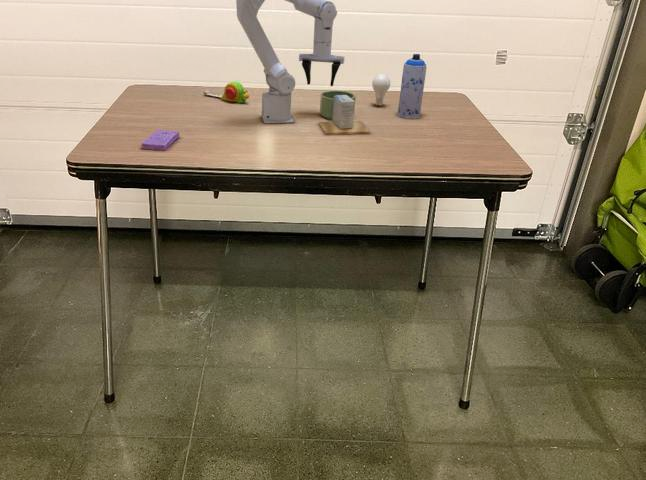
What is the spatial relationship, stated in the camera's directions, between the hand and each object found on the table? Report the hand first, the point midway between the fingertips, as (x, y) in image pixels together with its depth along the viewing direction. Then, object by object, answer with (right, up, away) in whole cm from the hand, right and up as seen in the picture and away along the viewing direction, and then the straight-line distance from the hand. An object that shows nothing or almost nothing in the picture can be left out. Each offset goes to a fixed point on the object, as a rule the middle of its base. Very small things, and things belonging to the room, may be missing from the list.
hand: (320, 84), depth 200 cm
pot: (+6, -9, +5) cm, 12 cm away
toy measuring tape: (-33, +1, +19) cm, 38 cm away
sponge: (-48, -24, -23) cm, 58 cm away
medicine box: (+7, -15, -6) cm, 18 cm away
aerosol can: (+31, -8, +8) cm, 33 cm away
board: (+7, -16, -7) cm, 19 cm away
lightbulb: (+22, -3, +17) cm, 28 cm away
